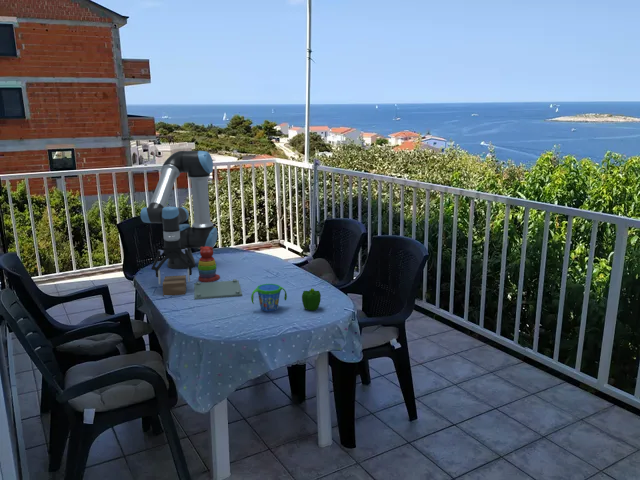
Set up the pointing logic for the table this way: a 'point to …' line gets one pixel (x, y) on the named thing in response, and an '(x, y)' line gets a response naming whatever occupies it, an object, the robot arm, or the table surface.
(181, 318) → the table surface
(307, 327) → the table surface
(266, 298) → the snack cup
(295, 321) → the table surface
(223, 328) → the table surface
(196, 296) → the base plate
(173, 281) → the walnut brick
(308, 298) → the bell pepper
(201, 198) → the robot arm
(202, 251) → the stacking bear
